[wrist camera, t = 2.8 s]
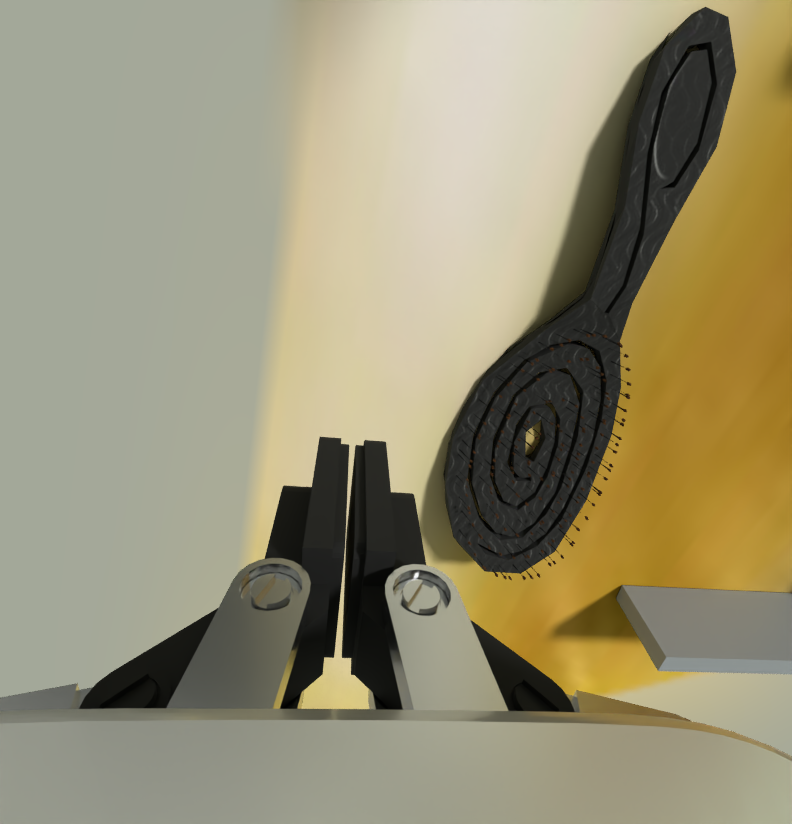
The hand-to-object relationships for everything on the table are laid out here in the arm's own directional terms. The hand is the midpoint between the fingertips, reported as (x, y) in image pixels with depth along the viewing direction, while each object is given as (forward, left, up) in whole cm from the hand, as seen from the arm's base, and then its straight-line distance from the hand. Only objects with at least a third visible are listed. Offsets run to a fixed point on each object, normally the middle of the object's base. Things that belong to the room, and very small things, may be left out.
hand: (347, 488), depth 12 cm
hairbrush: (-1, +10, -12) cm, 15 cm away
